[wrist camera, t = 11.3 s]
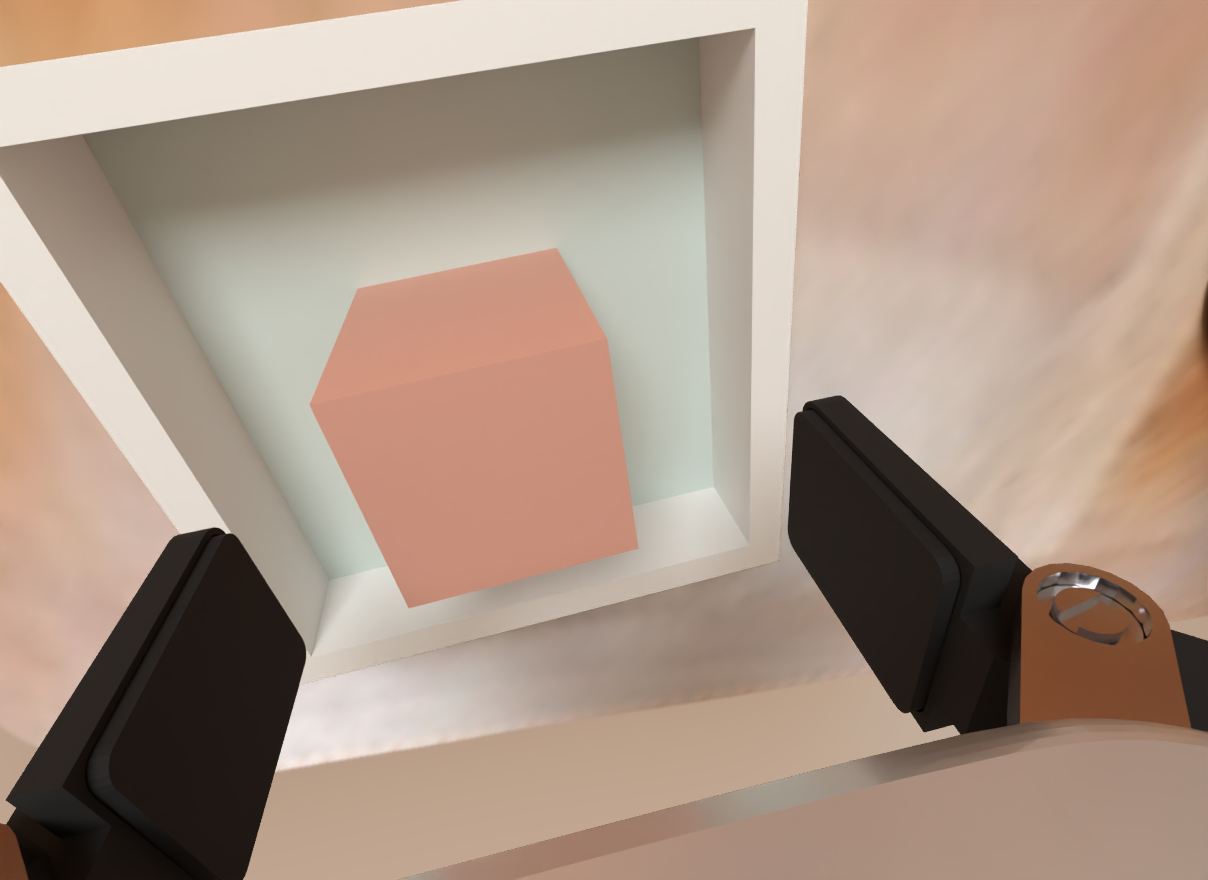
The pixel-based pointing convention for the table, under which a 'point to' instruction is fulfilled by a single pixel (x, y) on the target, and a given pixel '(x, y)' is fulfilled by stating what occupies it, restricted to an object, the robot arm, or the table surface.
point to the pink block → (478, 426)
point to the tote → (420, 266)
